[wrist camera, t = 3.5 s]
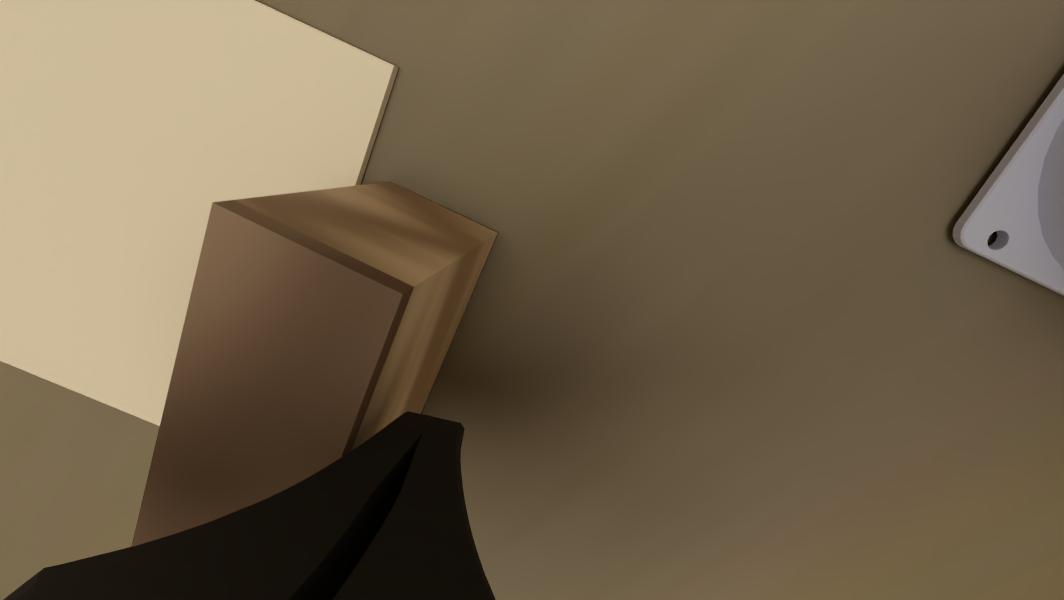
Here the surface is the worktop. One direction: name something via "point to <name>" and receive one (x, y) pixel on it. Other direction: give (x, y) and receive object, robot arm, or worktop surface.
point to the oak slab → (304, 341)
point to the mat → (152, 167)
